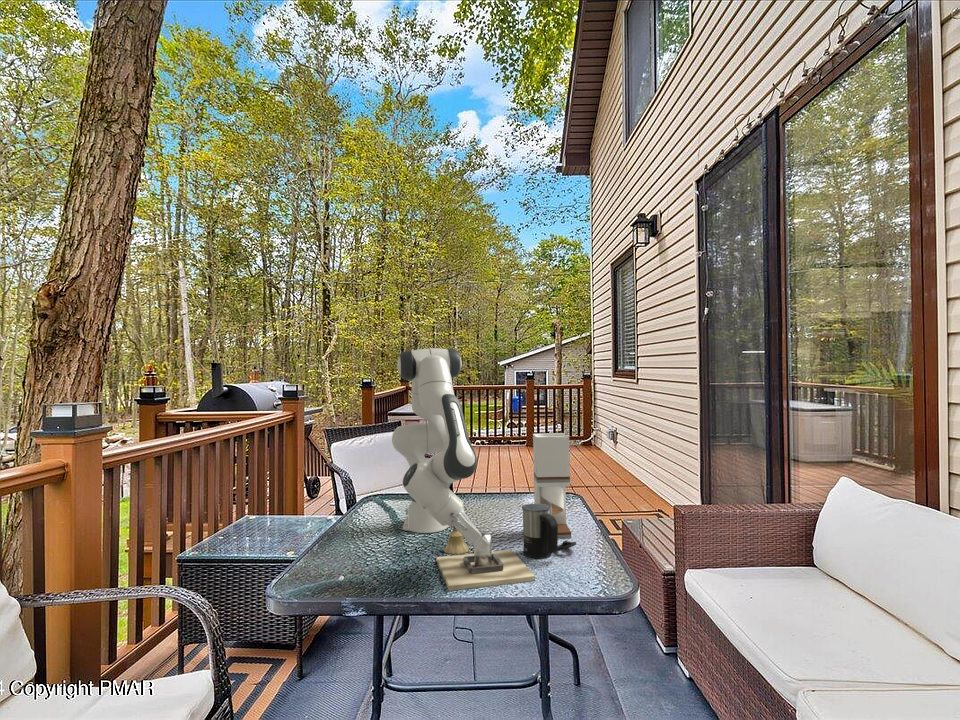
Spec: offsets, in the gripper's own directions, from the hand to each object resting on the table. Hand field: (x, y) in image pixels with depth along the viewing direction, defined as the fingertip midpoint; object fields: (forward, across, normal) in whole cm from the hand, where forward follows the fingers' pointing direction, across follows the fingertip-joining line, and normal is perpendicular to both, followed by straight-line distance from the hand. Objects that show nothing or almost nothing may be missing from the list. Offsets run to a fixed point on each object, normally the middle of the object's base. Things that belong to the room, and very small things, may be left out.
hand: (482, 541), depth 145 cm
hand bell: (+3, +19, +9) cm, 21 cm away
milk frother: (+23, +8, -11) cm, 27 cm away
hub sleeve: (+5, 0, +5) cm, 7 cm away
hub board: (+6, 0, +6) cm, 8 cm away
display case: (+29, +26, -17) cm, 42 cm away
